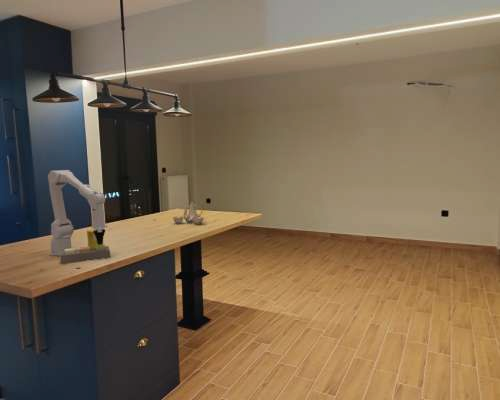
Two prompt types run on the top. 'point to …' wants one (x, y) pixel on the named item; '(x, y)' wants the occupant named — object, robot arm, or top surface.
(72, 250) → the cream button
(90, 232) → the supplement box
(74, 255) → the console
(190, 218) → the chinaware
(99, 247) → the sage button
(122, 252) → the top surface
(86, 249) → the terracotta button
